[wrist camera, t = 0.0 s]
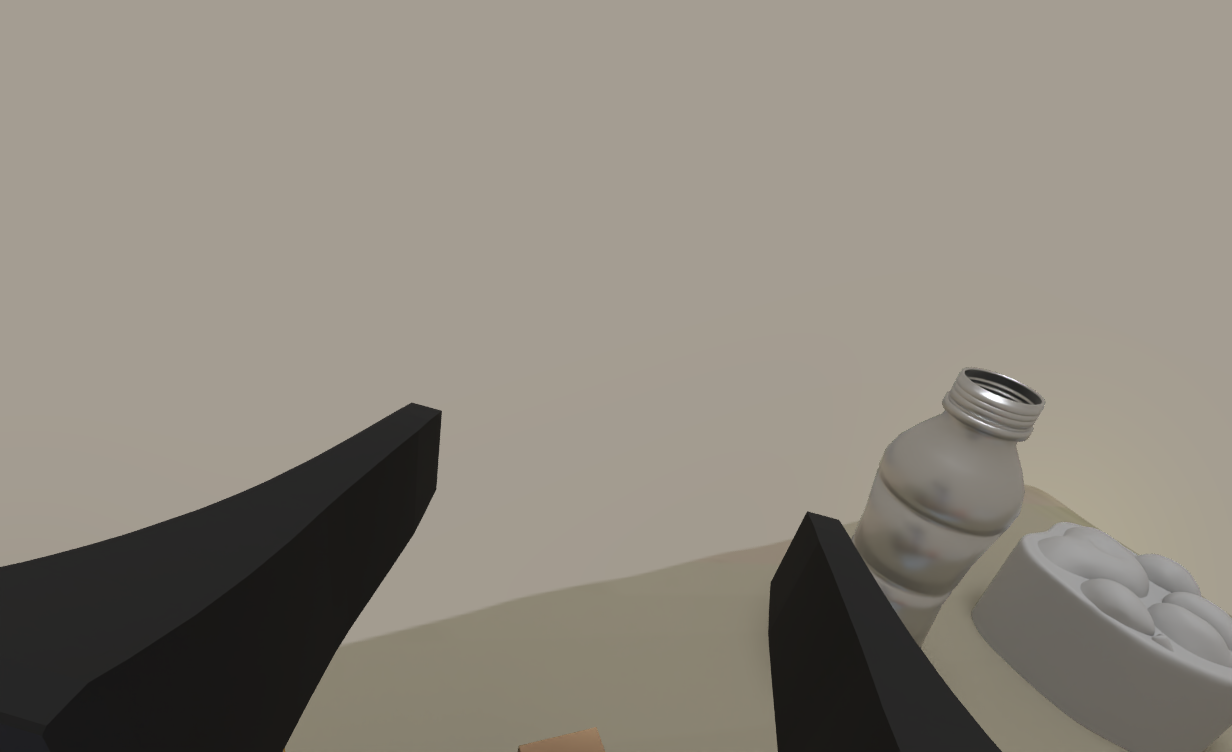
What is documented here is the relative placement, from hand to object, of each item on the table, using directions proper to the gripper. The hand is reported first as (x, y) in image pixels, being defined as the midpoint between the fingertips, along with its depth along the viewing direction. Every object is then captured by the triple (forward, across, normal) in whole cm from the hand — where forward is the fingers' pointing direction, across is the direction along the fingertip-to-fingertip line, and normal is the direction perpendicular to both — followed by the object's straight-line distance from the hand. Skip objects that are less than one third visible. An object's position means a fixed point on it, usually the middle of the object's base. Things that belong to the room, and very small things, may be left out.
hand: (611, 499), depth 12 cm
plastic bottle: (+16, -16, +23) cm, 33 cm away
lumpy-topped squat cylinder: (+22, -34, +24) cm, 47 cm away
